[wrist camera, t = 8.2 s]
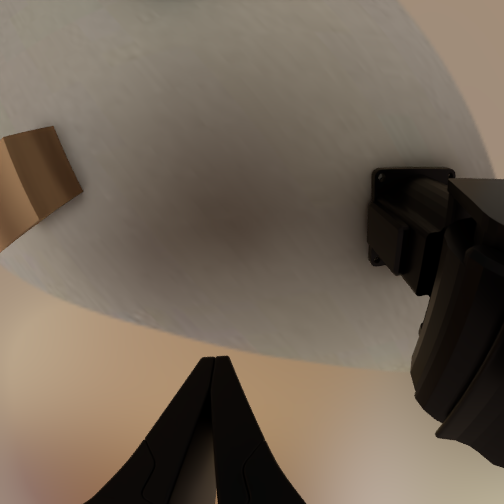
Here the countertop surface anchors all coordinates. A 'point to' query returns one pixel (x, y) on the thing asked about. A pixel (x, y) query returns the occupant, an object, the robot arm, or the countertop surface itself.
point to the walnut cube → (32, 181)
